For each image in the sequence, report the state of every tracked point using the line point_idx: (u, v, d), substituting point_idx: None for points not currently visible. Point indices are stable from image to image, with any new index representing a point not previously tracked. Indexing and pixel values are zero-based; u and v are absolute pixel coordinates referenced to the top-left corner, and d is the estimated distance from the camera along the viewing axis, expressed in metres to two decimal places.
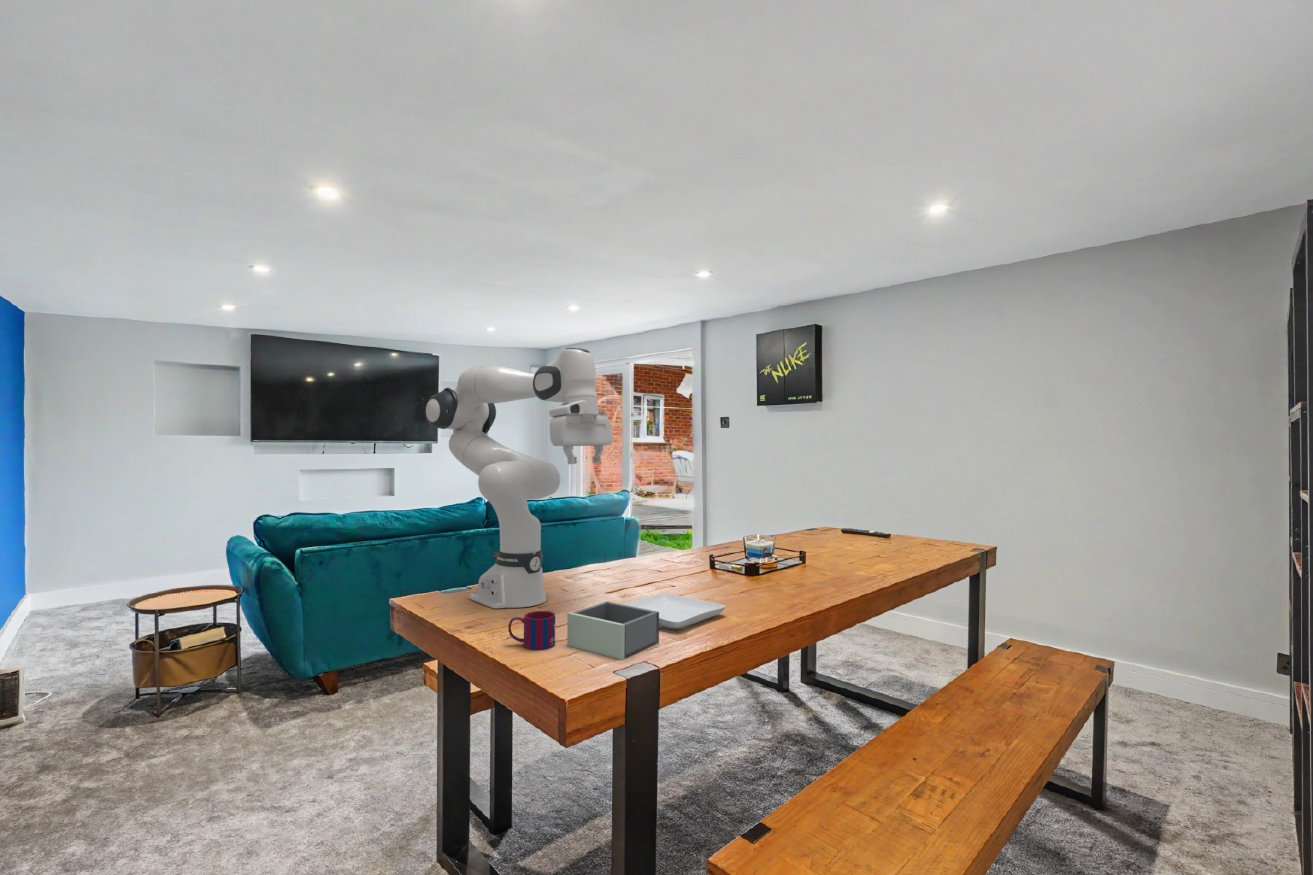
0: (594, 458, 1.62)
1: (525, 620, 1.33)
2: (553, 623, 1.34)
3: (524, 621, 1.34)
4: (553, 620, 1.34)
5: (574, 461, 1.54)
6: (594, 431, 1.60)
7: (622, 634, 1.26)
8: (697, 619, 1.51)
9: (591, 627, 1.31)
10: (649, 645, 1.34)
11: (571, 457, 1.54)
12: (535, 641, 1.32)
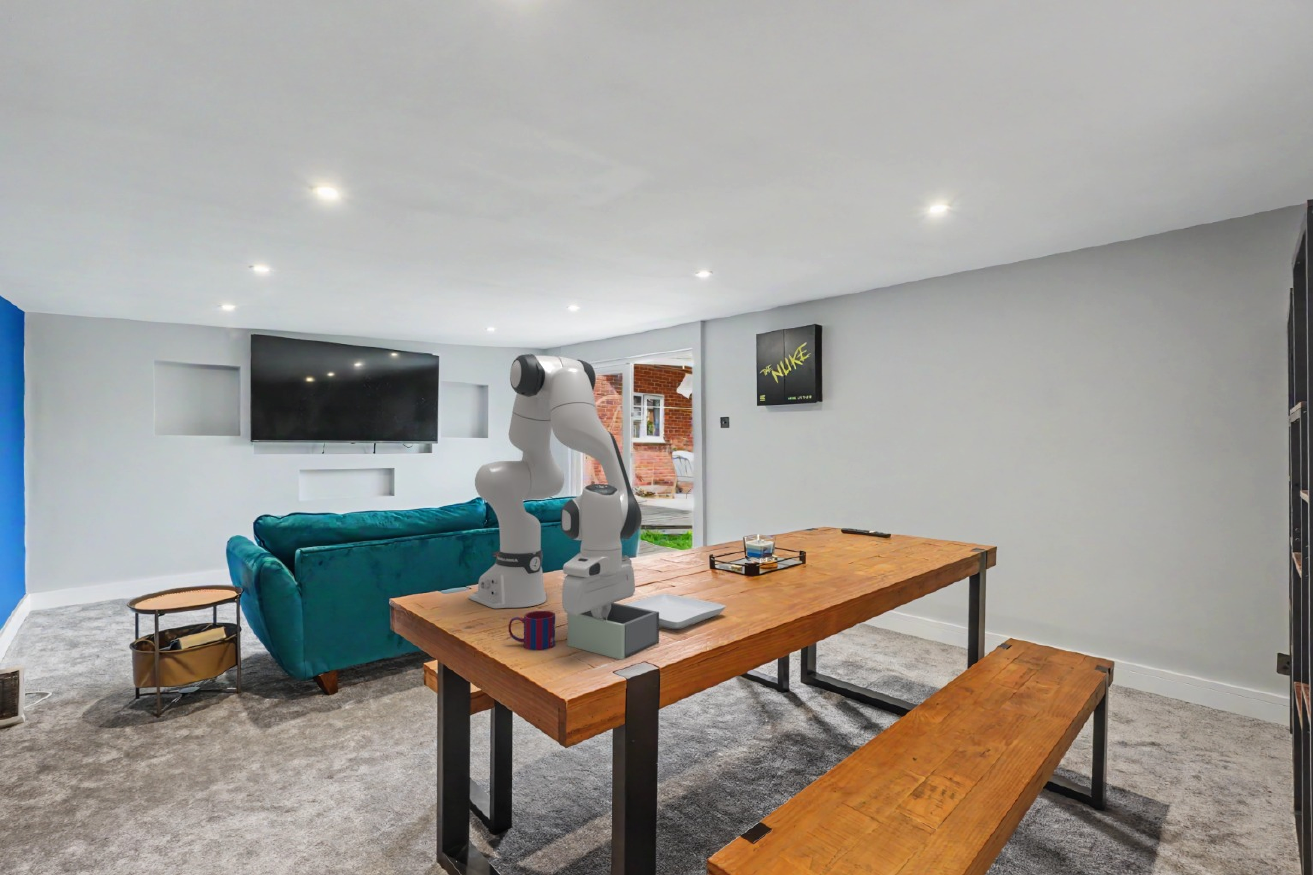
0: None
1: (525, 620, 1.33)
2: (553, 623, 1.34)
3: (524, 621, 1.34)
4: (553, 620, 1.34)
5: None
6: (614, 586, 1.33)
7: (622, 634, 1.26)
8: (697, 619, 1.51)
9: (591, 627, 1.31)
10: (649, 645, 1.34)
11: None
12: (535, 641, 1.32)
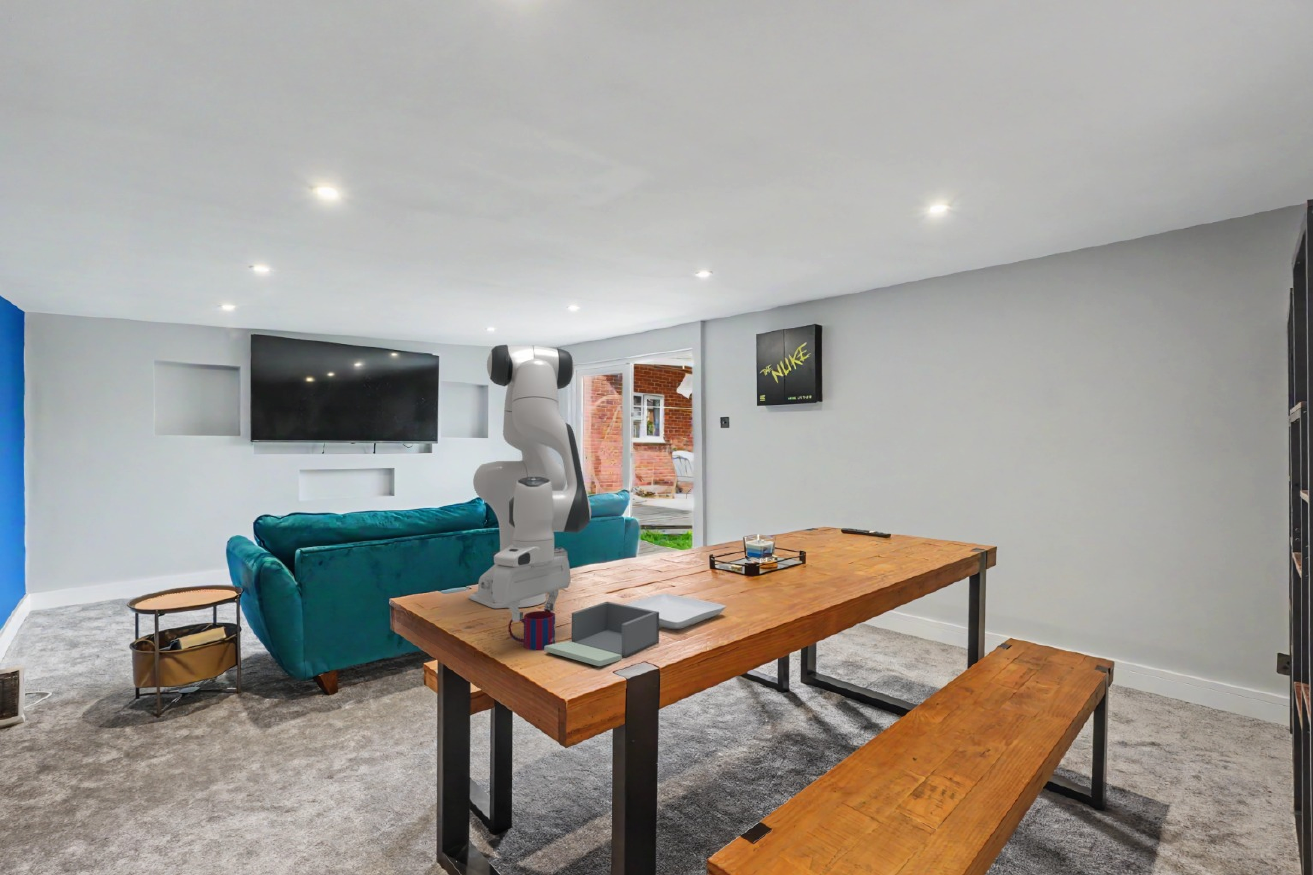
0: (546, 606, 1.38)
1: (525, 620, 1.33)
2: (553, 623, 1.34)
3: (524, 621, 1.34)
4: (553, 620, 1.34)
5: (519, 619, 1.30)
6: (548, 577, 1.36)
7: (605, 663, 1.22)
8: (697, 619, 1.51)
9: None
10: (649, 645, 1.34)
11: (516, 614, 1.30)
12: (535, 641, 1.32)
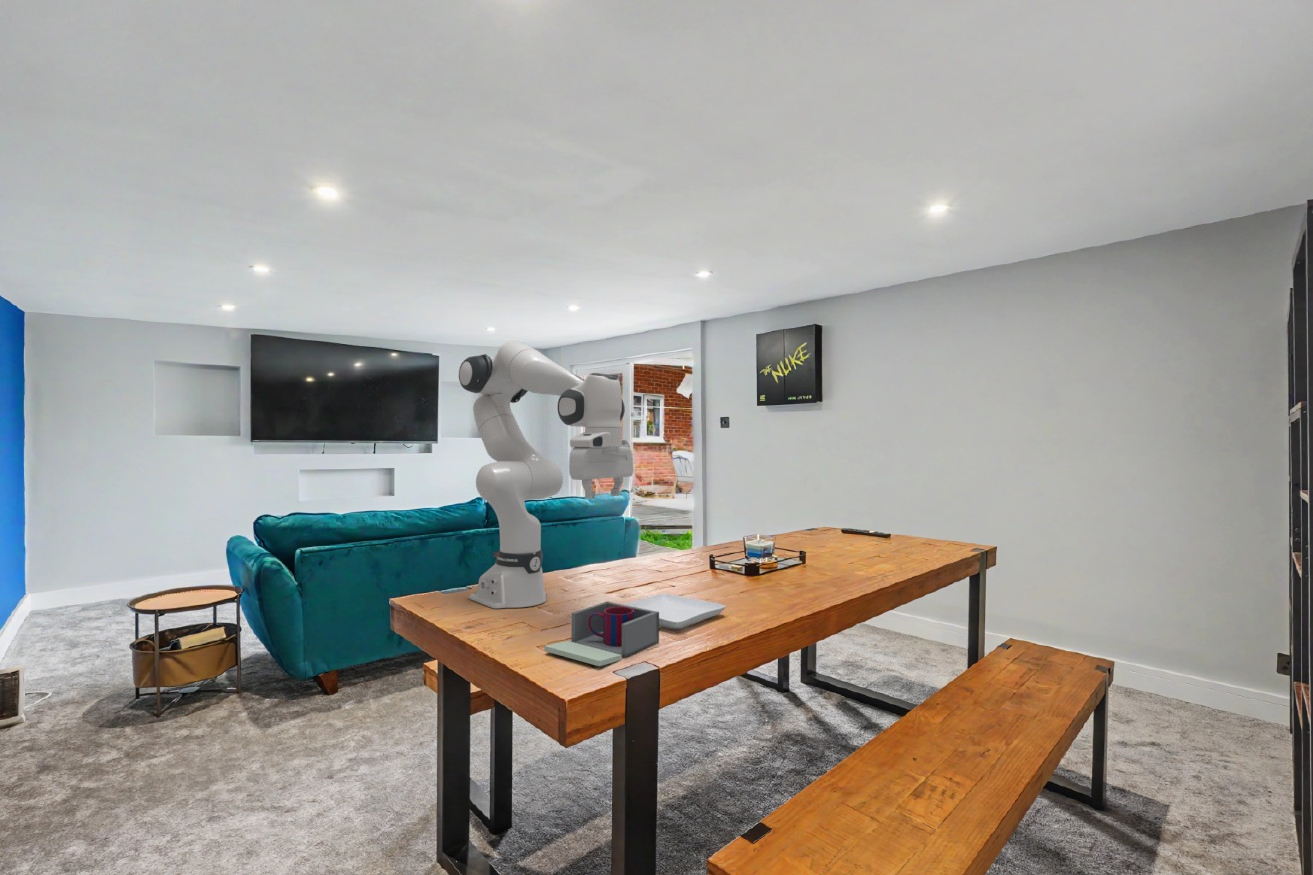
0: (612, 491, 1.53)
1: (605, 615, 1.34)
2: (632, 619, 1.35)
3: (604, 616, 1.35)
4: (632, 616, 1.35)
5: (592, 496, 1.45)
6: (615, 463, 1.51)
7: (605, 663, 1.22)
8: (697, 619, 1.51)
9: None
10: (649, 645, 1.34)
11: (589, 492, 1.45)
12: (615, 636, 1.33)
